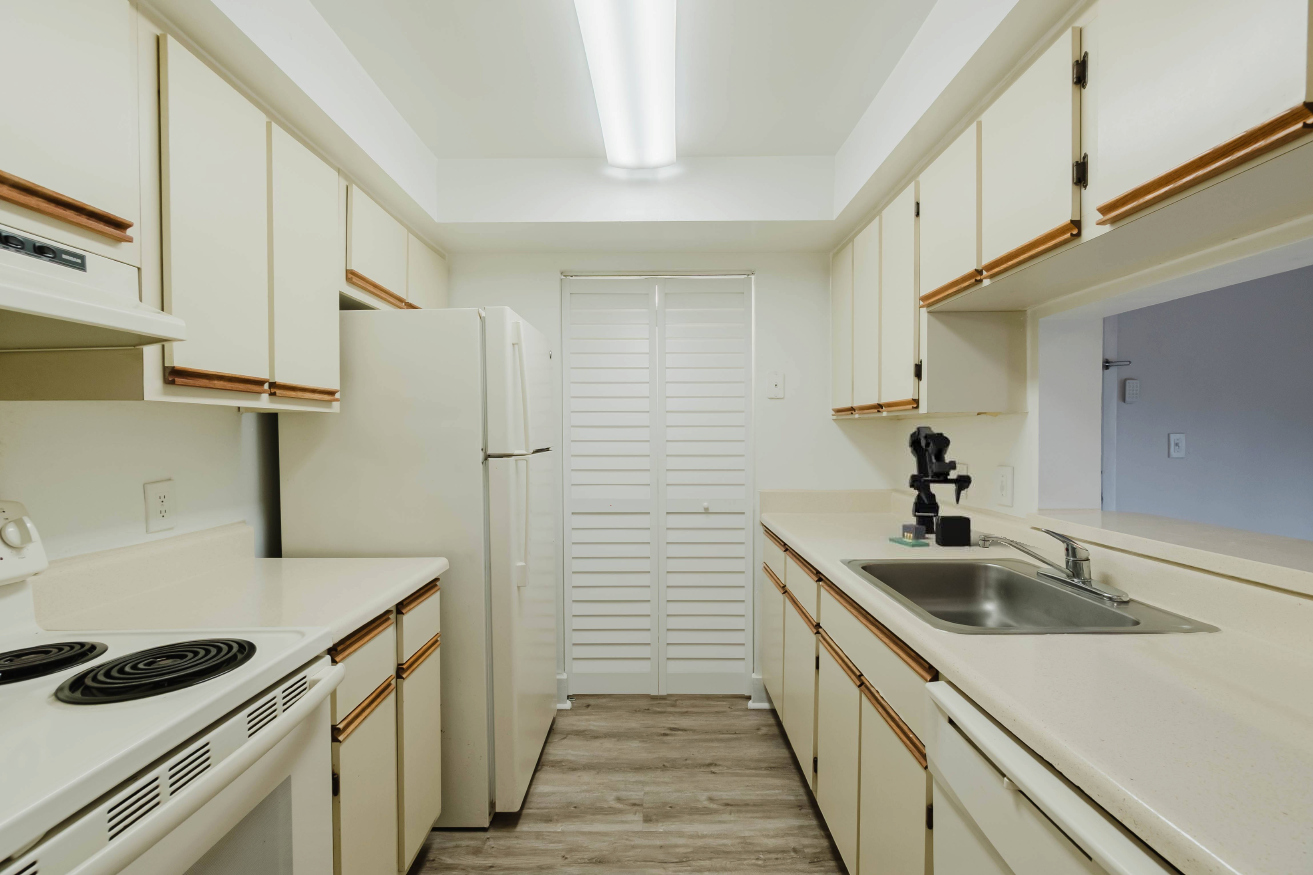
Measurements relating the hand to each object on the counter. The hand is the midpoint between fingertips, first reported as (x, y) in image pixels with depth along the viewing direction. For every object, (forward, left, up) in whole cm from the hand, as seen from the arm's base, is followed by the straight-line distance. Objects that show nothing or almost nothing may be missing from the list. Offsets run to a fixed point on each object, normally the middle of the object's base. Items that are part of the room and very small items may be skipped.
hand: (942, 503), depth 182 cm
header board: (-9, -6, -15) cm, 19 cm away
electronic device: (-2, +6, -15) cm, 16 cm away
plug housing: (-18, +3, -15) cm, 24 cm away
